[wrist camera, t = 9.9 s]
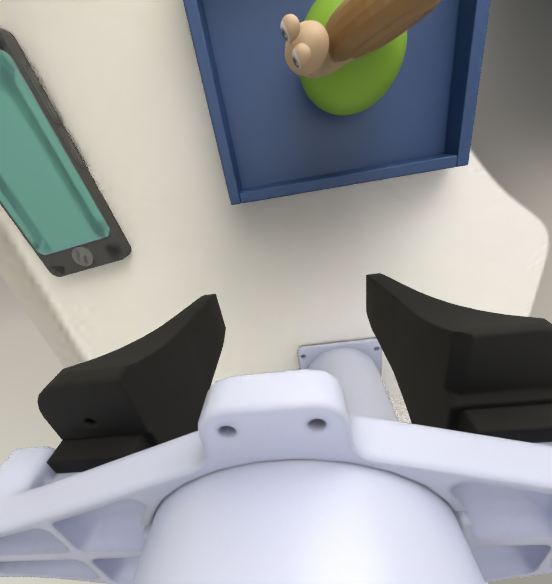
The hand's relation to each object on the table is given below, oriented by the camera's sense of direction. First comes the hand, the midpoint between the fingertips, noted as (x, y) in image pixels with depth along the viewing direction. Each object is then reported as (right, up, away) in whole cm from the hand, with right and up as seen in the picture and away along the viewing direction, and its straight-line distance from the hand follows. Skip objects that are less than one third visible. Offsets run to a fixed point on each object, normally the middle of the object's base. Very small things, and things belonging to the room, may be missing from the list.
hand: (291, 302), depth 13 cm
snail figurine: (+3, +14, +4) cm, 15 cm away
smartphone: (-18, +9, +8) cm, 22 cm away
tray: (+3, +14, +4) cm, 15 cm away
